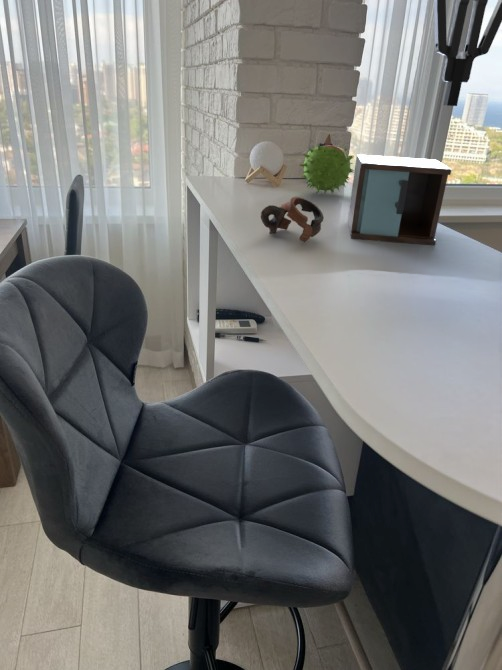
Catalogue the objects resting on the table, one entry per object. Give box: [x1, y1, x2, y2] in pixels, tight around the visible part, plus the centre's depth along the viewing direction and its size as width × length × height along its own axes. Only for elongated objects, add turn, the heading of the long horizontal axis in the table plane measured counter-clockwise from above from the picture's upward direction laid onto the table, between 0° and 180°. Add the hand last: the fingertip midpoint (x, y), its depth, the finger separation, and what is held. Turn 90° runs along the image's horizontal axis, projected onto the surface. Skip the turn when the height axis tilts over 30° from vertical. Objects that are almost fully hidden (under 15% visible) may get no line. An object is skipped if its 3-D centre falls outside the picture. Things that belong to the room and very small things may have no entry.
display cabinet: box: [347, 154, 452, 246], centre depth 100 cm, size 16×14×14 cm
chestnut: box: [299, 143, 355, 195], centre depth 135 cm, size 15×14×15 cm
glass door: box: [360, 169, 409, 237], centre depth 94 cm, size 7×4×12 cm, turn 83°
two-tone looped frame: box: [260, 196, 324, 243], centre depth 95 cm, size 12×9×8 cm
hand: (450, 105), depth 80 cm, fingers closed
